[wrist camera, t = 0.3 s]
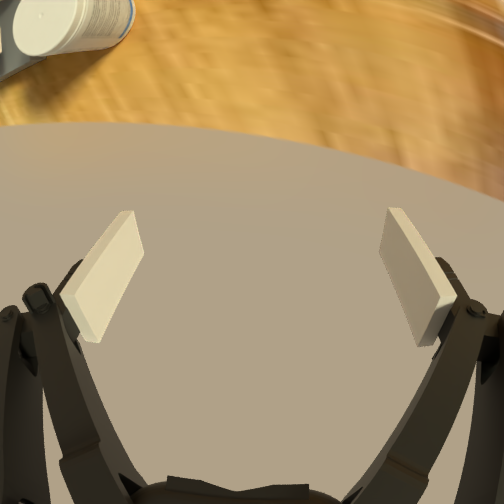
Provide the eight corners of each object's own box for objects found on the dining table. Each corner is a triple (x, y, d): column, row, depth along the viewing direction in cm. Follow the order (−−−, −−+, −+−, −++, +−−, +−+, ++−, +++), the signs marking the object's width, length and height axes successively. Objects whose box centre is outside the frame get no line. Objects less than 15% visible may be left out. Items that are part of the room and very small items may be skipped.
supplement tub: (117, -23, 26) (57, -44, 14) (150, 19, 30) (95, 7, 18) (68, 22, 29) (0, 23, 17) (98, 63, 34) (32, 75, 22)
